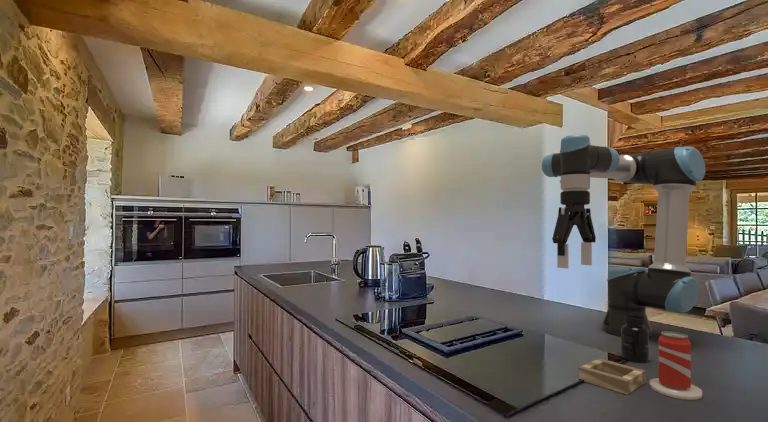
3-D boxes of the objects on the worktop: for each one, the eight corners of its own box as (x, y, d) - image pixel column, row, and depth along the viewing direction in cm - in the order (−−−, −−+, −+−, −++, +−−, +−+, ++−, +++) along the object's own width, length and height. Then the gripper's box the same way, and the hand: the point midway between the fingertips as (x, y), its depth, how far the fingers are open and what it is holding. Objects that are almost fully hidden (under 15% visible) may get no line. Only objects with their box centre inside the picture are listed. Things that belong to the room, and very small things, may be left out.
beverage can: (698, 389, 93) (697, 336, 94) (676, 392, 92) (676, 338, 92) (672, 379, 99) (672, 330, 99) (652, 382, 97) (651, 331, 98)
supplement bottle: (653, 364, 113) (653, 320, 113) (626, 362, 114) (626, 319, 115) (643, 356, 120) (642, 315, 120) (617, 354, 121) (617, 313, 121)
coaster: (658, 378, 102) (658, 374, 102) (707, 392, 94) (707, 387, 94) (643, 388, 96) (642, 384, 96) (694, 404, 88) (694, 399, 88)
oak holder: (598, 369, 108) (598, 358, 108) (645, 382, 100) (645, 370, 100) (578, 379, 101) (578, 367, 101) (627, 394, 93) (627, 381, 93)
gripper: (582, 193, 125) (582, 262, 125) (538, 188, 110) (538, 268, 109) (608, 192, 120) (608, 264, 119) (565, 187, 104) (565, 270, 103)
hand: (575, 266), depth 114 cm, fingers open, 13 cm apart
